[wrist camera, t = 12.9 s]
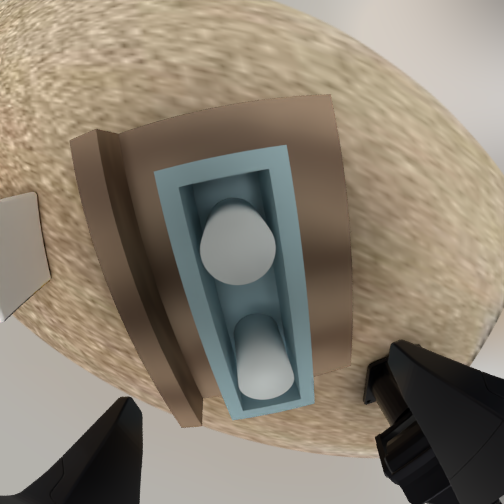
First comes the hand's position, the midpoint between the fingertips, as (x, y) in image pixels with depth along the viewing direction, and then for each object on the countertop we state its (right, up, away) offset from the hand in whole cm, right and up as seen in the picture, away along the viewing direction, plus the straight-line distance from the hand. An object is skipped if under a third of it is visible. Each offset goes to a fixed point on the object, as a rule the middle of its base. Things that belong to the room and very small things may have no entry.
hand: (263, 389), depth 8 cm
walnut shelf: (-1, +3, +11) cm, 11 cm away
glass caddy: (-1, +3, +9) cm, 9 cm away
